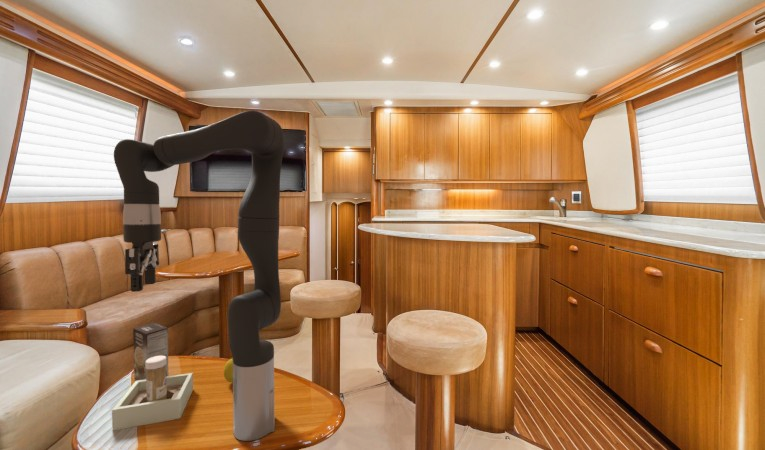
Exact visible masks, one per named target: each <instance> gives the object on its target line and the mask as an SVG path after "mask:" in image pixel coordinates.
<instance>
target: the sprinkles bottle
mask: <svg viewBox="0 0 765 450" xmlns="http://www.w3.org/2000/svg"><path fill="white" fill-rule="evenodd" d="M166 363H167V361H166V356H162V355H161V356H154V357H151V358H149V359H147V360H146V362H145V368H146V370H147V371H146V376H147V379H146V390H147V402H153V401H159V400H165V399H166V393H167V385H166Z"/></svg>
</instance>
